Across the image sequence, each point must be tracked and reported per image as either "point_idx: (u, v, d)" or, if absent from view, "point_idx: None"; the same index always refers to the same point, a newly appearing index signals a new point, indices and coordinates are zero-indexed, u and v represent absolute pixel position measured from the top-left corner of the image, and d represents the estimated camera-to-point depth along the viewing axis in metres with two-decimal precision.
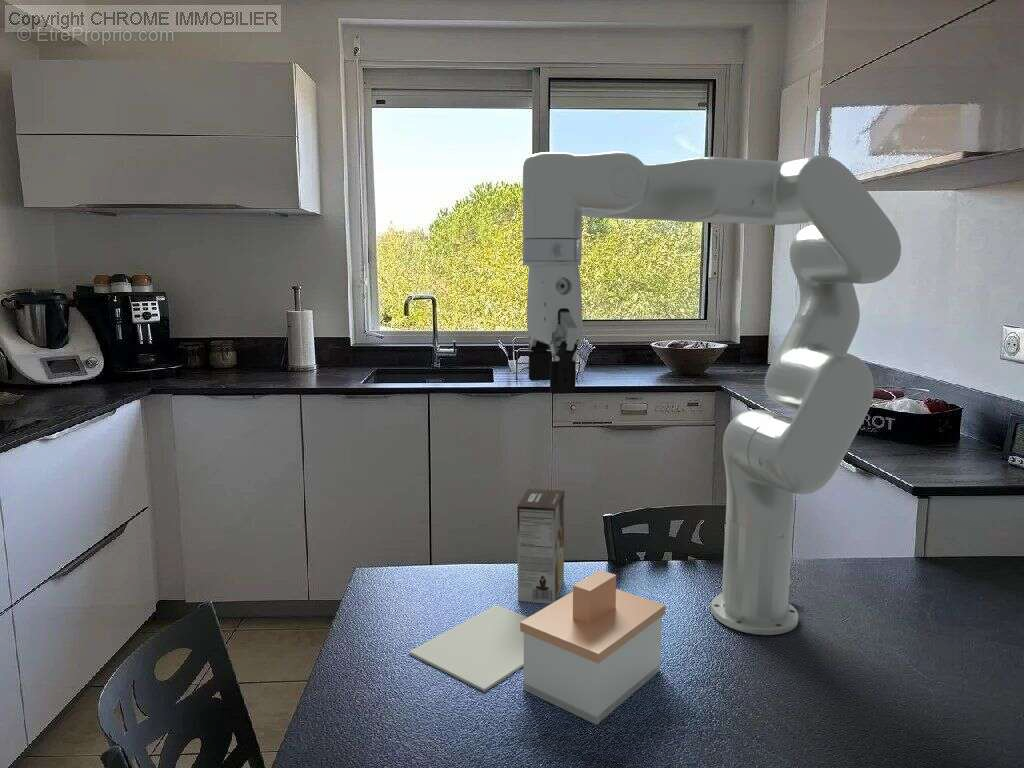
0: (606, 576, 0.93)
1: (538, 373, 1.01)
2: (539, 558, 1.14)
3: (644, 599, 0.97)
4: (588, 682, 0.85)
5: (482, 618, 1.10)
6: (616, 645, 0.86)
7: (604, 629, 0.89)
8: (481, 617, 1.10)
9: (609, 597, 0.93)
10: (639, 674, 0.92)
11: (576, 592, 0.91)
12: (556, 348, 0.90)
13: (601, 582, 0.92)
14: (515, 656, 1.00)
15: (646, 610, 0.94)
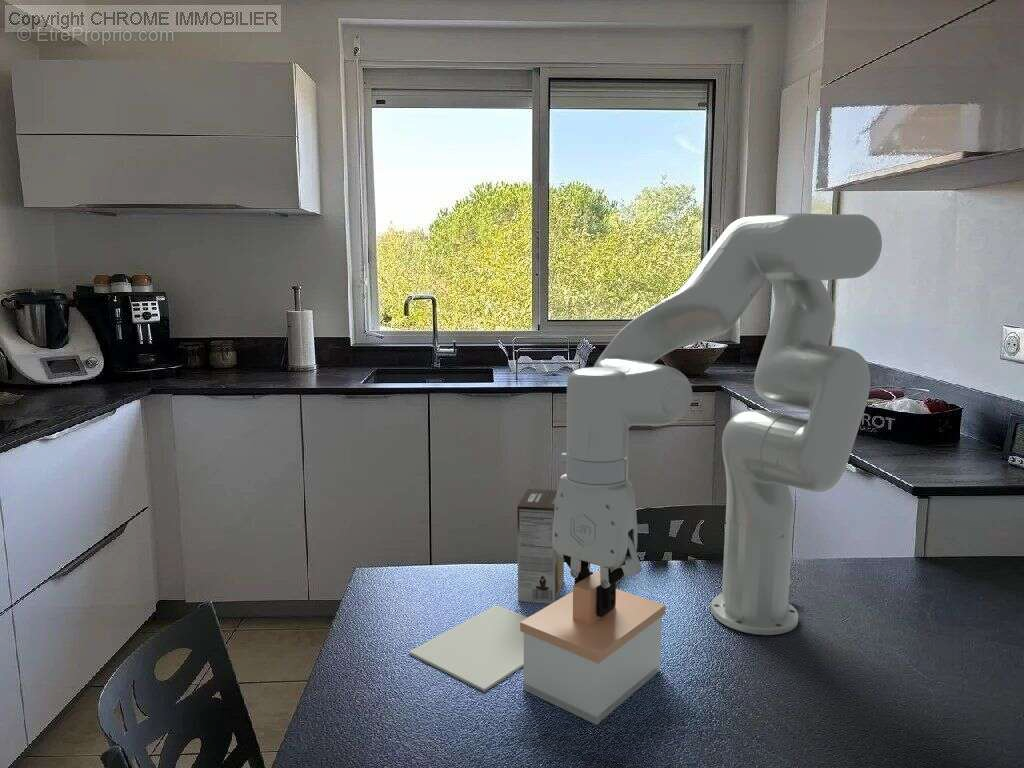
0: None
1: None
2: (539, 558, 1.14)
3: (644, 599, 0.97)
4: (588, 682, 0.85)
5: (482, 618, 1.10)
6: (616, 645, 0.86)
7: (604, 629, 0.89)
8: (481, 617, 1.10)
9: None
10: (639, 674, 0.92)
11: (576, 592, 0.91)
12: None
13: None
14: (515, 656, 1.00)
15: (646, 610, 0.94)
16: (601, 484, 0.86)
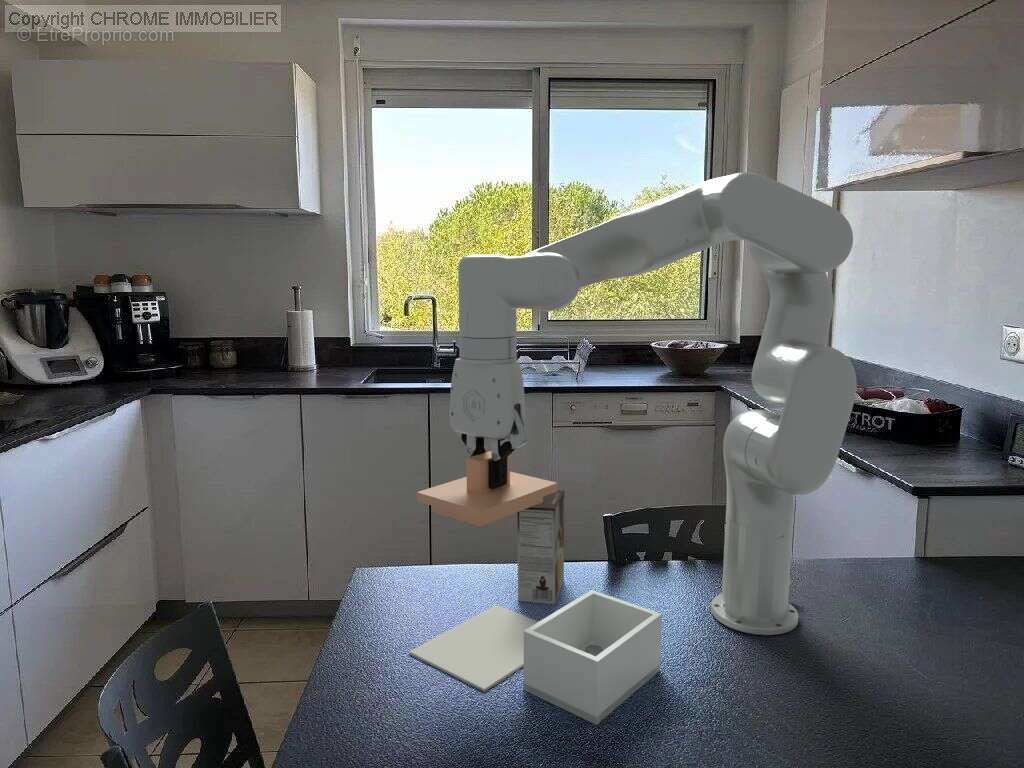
0: None
1: None
2: (539, 558, 1.14)
3: (539, 479, 1.03)
4: (588, 682, 0.85)
5: (482, 618, 1.10)
6: (501, 508, 0.93)
7: (493, 496, 0.95)
8: (481, 617, 1.10)
9: None
10: (639, 674, 0.92)
11: (469, 464, 0.97)
12: None
13: None
14: (515, 656, 1.00)
15: (538, 485, 1.00)
16: (488, 359, 0.93)
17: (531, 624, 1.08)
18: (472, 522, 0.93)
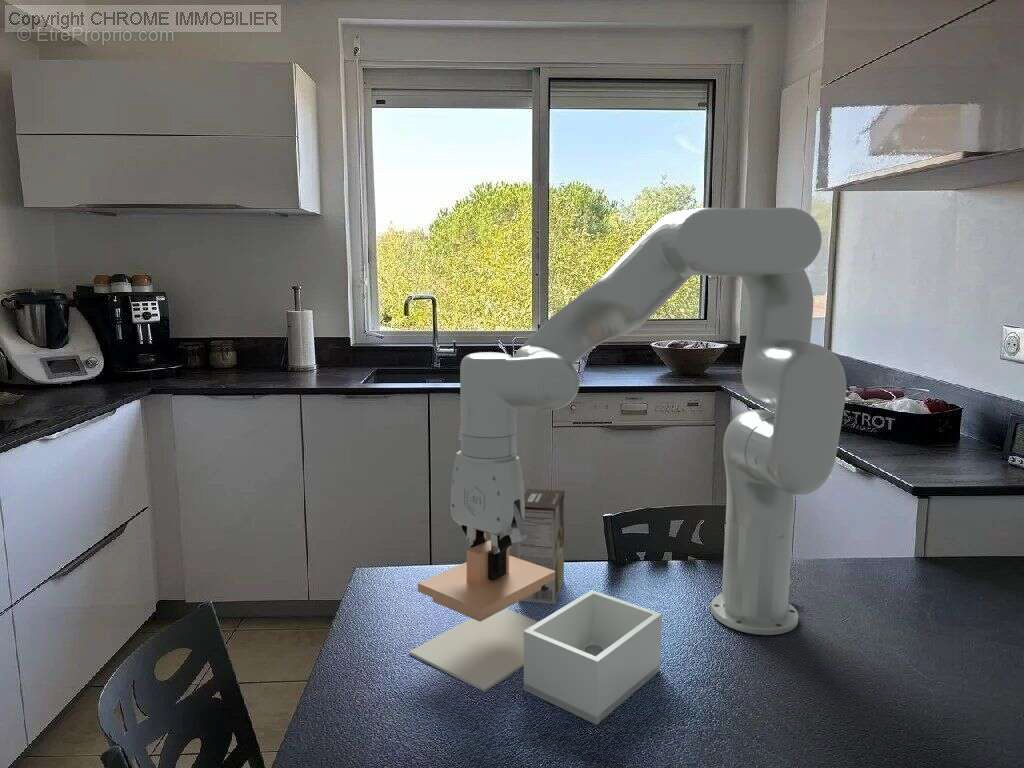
0: None
1: None
2: (539, 558, 1.14)
3: (537, 566, 1.05)
4: (588, 682, 0.85)
5: None
6: (500, 603, 0.95)
7: (492, 589, 0.97)
8: None
9: None
10: (639, 674, 0.92)
11: (469, 556, 0.99)
12: None
13: None
14: (515, 656, 1.00)
15: (536, 575, 1.02)
16: (488, 458, 0.95)
17: (531, 624, 1.08)
18: (472, 617, 0.95)
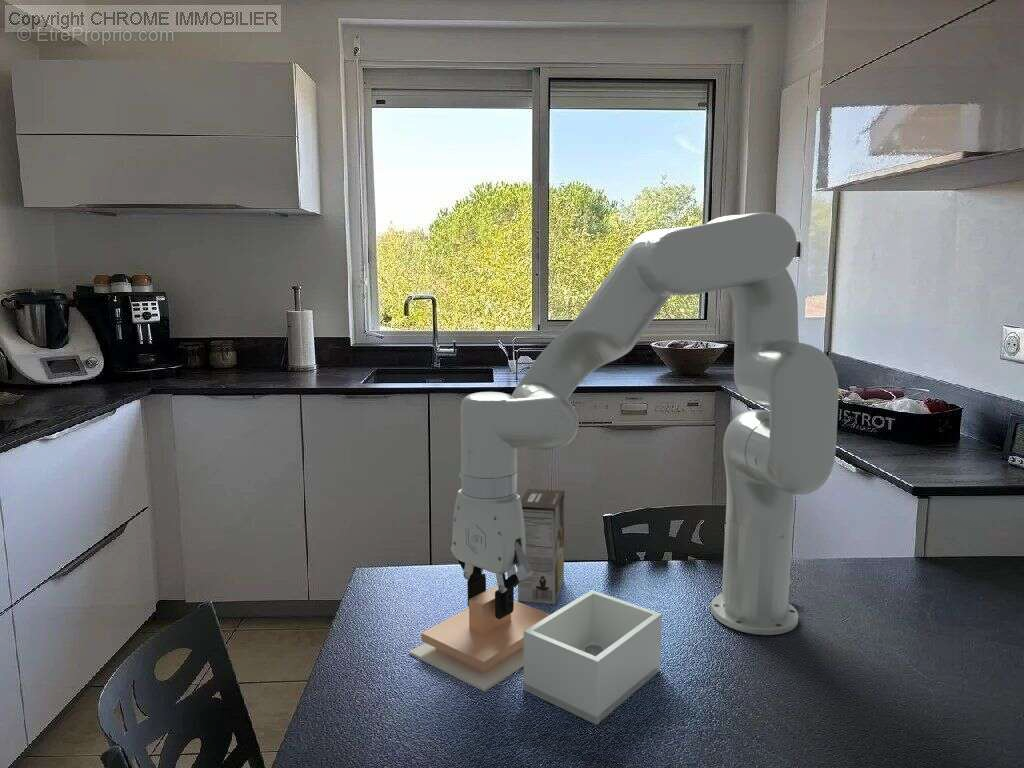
0: None
1: None
2: (539, 558, 1.14)
3: (539, 611, 1.07)
4: (588, 682, 0.85)
5: None
6: (503, 654, 0.96)
7: (495, 639, 0.99)
8: None
9: None
10: (639, 674, 0.92)
11: (471, 605, 1.00)
12: None
13: None
14: (515, 656, 1.00)
15: (538, 621, 1.04)
16: (489, 498, 0.96)
17: None
18: (475, 667, 0.96)
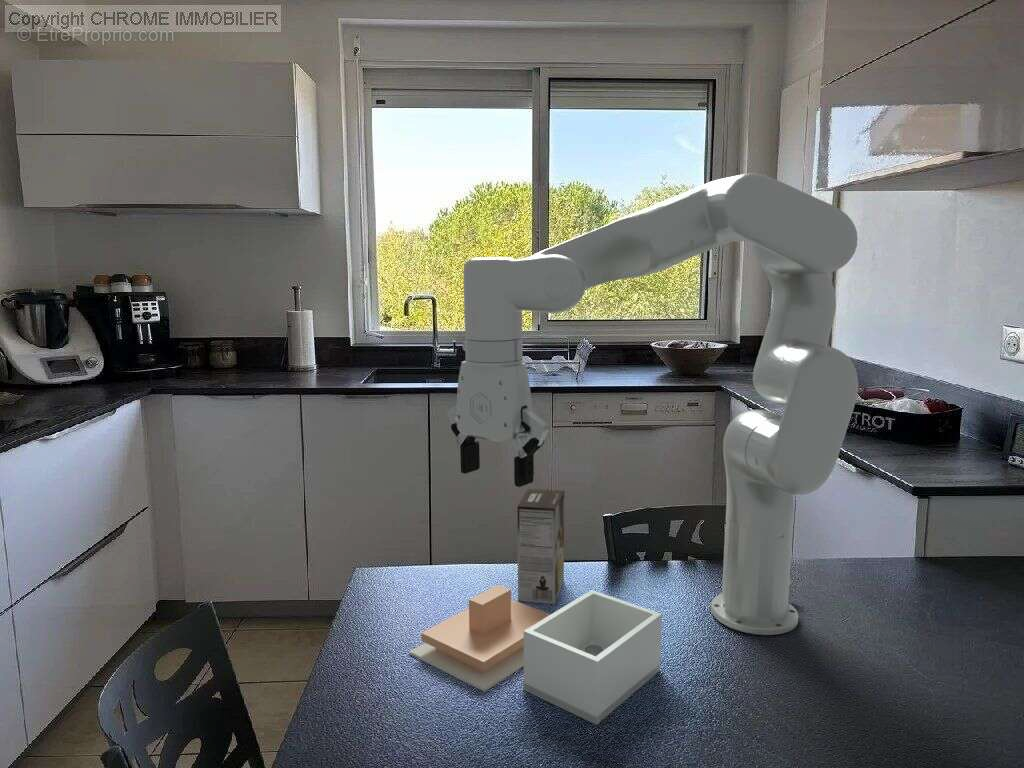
0: (501, 591, 1.03)
1: None
2: (539, 558, 1.14)
3: (539, 611, 1.07)
4: (588, 682, 0.85)
5: None
6: (503, 654, 0.96)
7: (495, 639, 0.99)
8: None
9: (503, 610, 1.03)
10: (639, 674, 0.92)
11: (471, 605, 1.00)
12: None
13: (495, 596, 1.01)
14: (515, 656, 1.00)
15: (538, 621, 1.04)
16: (494, 362, 0.93)
17: None
18: (475, 667, 0.96)
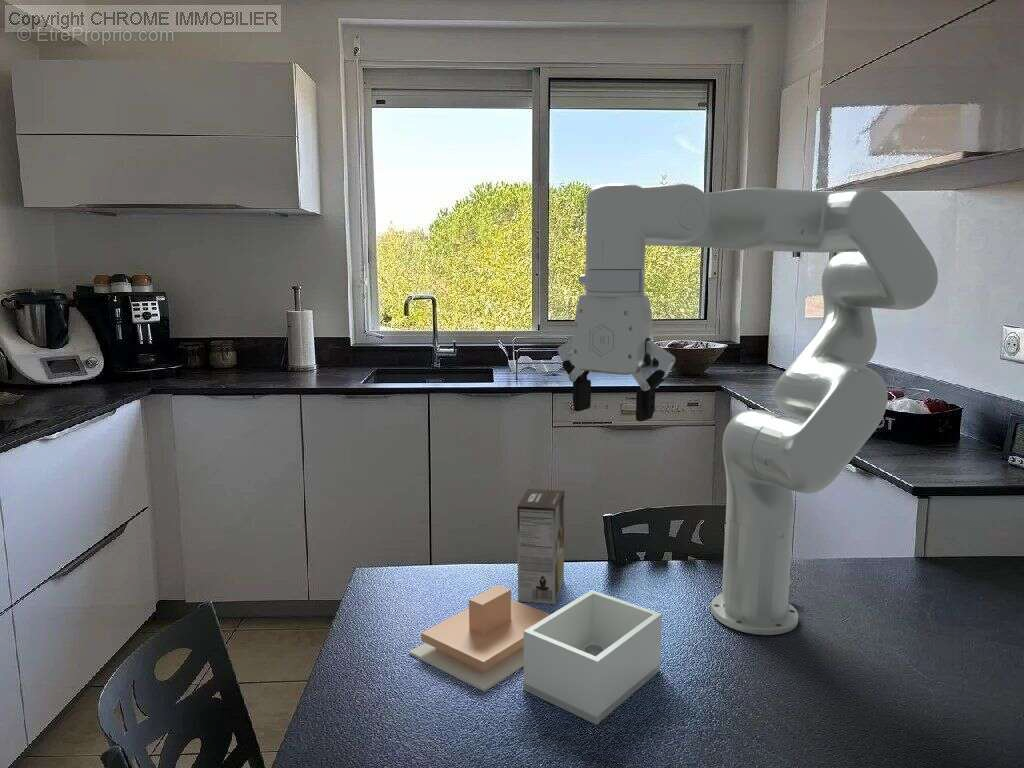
0: (501, 591, 1.03)
1: None
2: (539, 558, 1.14)
3: (539, 611, 1.07)
4: (588, 682, 0.85)
5: None
6: (503, 654, 0.96)
7: (495, 639, 0.99)
8: None
9: (503, 610, 1.03)
10: (639, 674, 0.92)
11: (471, 605, 1.00)
12: None
13: (495, 596, 1.01)
14: (515, 656, 1.00)
15: (538, 621, 1.04)
16: (619, 291, 0.91)
17: None
18: (475, 667, 0.96)
